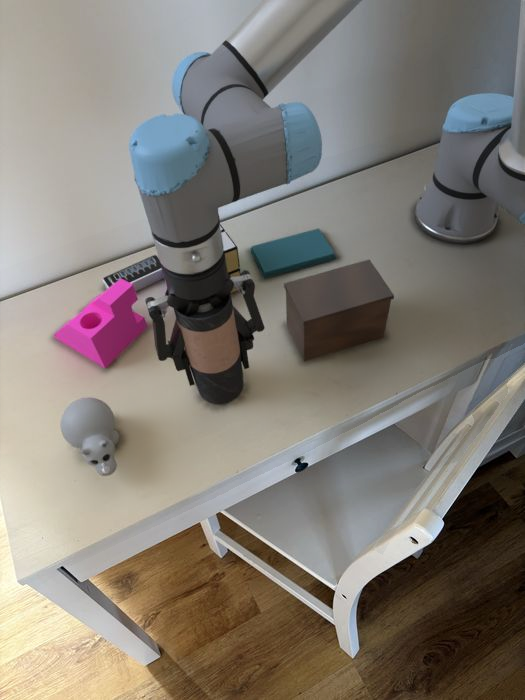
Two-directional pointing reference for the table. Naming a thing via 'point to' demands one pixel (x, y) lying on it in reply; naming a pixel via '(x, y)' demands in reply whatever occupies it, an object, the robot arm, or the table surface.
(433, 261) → the table surface
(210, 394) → the travel mug
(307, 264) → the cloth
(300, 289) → the bread box
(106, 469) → the round bodied animal figurine
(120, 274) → the multiport hub
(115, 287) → the bracket
